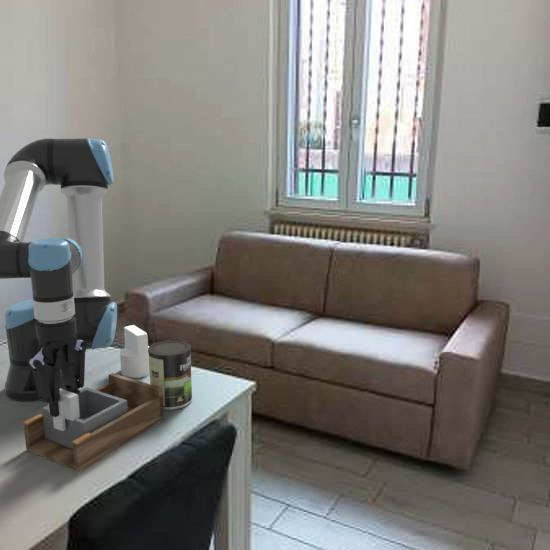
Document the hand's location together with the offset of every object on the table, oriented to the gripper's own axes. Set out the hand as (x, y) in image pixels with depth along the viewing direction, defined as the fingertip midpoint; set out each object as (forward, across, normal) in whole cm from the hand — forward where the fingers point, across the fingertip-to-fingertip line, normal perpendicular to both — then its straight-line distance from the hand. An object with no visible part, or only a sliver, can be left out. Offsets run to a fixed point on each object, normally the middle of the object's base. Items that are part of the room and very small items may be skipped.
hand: (65, 425), depth 122 cm
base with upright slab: (+6, +39, +17) cm, 43 cm away
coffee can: (+6, +30, -3) cm, 30 cm away
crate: (+4, +5, 0) cm, 7 cm away
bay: (+6, +8, 0) cm, 10 cm away
